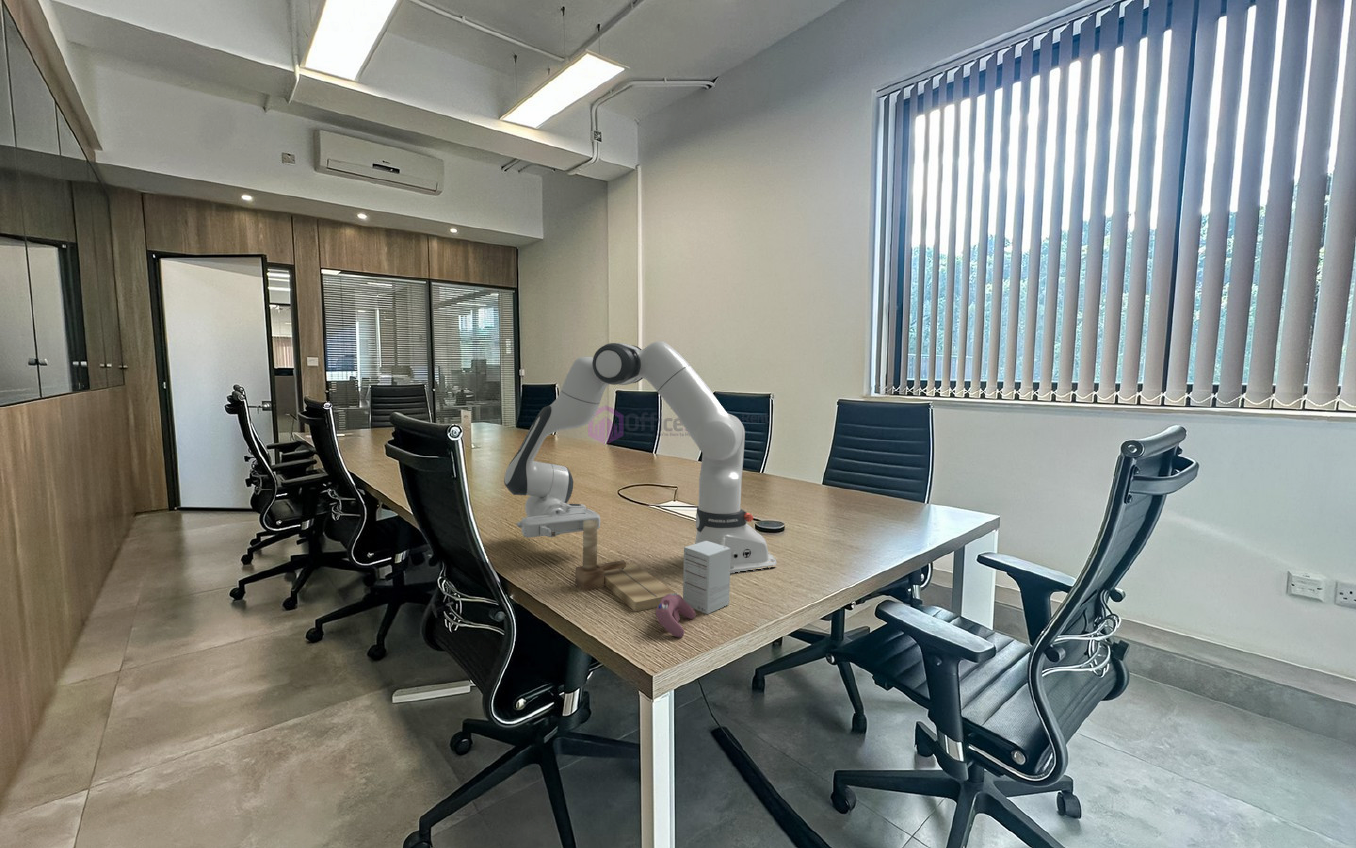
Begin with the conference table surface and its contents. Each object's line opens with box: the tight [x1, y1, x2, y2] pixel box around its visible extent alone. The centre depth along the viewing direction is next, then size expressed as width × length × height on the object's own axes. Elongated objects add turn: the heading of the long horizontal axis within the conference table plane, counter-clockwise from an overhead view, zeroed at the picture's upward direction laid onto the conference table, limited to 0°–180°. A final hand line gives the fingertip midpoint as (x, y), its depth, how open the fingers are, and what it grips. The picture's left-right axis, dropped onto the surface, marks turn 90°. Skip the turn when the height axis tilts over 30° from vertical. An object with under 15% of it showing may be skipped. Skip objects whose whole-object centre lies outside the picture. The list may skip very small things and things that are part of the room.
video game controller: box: [655, 592, 696, 639], centre depth 106 cm, size 10×5×7 cm, turn 163°
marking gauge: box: [574, 520, 627, 592], centre depth 126 cm, size 11×5×15 cm, turn 121°
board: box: [604, 562, 677, 613], centre depth 124 cm, size 22×10×2 cm, turn 31°
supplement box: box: [682, 541, 731, 615], centre depth 116 cm, size 7×7×13 cm
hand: (570, 531), depth 135 cm, fingers open, 8 cm apart
